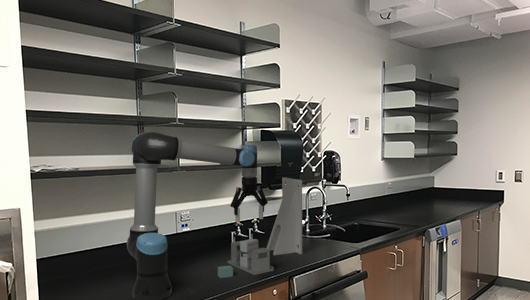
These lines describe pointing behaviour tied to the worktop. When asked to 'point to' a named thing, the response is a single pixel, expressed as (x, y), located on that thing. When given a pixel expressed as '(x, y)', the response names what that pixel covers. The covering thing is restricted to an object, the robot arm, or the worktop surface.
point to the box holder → (252, 259)
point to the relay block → (225, 271)
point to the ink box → (247, 251)
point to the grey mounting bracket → (288, 220)
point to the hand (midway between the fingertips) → (249, 220)
